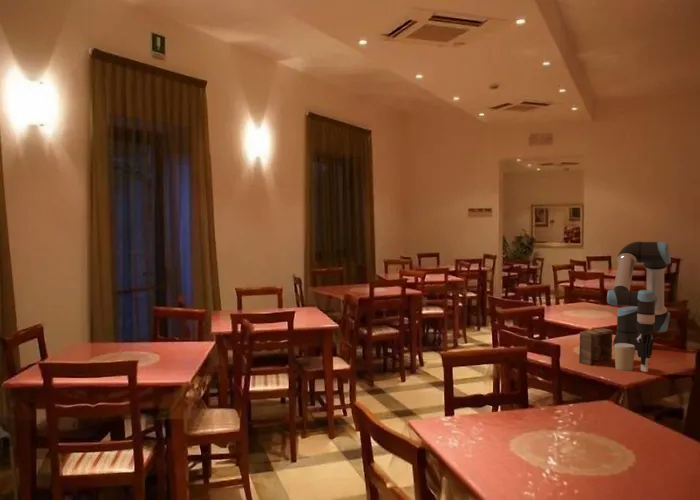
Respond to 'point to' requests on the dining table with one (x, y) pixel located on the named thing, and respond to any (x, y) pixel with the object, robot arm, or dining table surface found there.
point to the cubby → (595, 345)
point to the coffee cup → (624, 356)
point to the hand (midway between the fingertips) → (644, 370)
